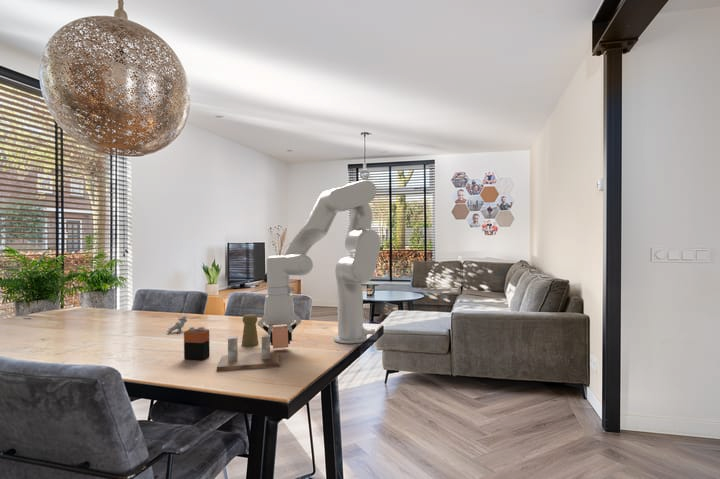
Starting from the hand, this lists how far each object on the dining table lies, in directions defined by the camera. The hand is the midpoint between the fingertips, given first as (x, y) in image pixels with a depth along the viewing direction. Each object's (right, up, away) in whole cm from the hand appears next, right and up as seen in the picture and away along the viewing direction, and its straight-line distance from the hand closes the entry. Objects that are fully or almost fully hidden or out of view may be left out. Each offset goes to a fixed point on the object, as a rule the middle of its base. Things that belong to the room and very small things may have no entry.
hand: (280, 343), depth 142 cm
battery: (-25, -3, -9) cm, 27 cm away
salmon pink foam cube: (0, -1, 0) cm, 1 cm away
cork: (-13, -3, +8) cm, 15 cm away
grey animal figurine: (-48, -3, +30) cm, 57 cm away
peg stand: (-7, -3, -14) cm, 16 cm away
